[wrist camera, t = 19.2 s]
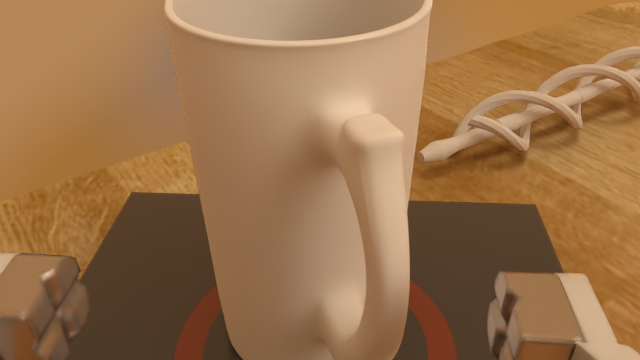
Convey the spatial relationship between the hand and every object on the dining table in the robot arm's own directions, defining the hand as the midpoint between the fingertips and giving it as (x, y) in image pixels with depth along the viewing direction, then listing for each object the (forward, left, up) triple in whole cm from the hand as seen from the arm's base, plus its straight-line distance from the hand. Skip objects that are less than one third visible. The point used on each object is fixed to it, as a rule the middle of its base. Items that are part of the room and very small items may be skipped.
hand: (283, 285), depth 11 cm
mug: (0, +5, -9) cm, 10 cm away
